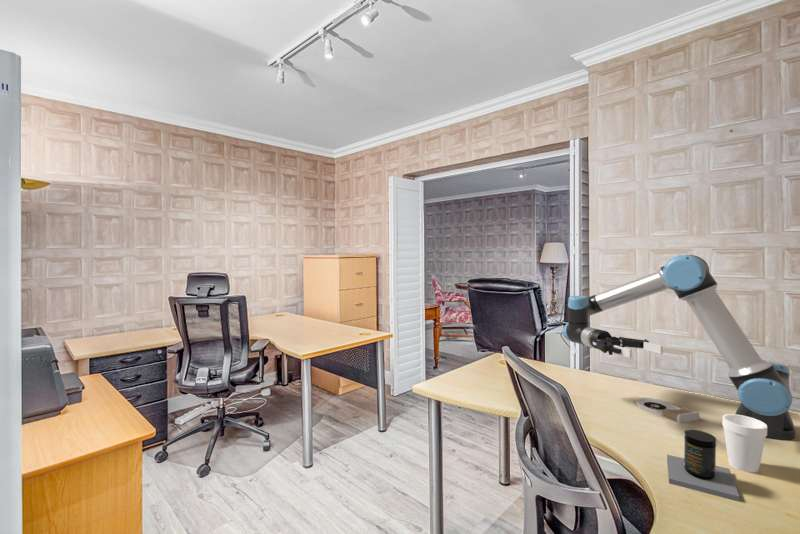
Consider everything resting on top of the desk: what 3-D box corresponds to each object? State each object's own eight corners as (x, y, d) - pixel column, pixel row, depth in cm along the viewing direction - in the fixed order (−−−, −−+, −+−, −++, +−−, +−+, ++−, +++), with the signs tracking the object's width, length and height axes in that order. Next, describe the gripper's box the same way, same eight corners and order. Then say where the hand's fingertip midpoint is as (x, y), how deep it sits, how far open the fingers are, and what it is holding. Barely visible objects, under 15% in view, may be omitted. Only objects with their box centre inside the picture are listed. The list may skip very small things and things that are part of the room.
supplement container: (716, 484, 97) (716, 444, 97) (683, 474, 101) (684, 436, 101) (715, 471, 103) (715, 434, 102) (684, 463, 107) (684, 427, 106)
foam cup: (754, 479, 101) (755, 431, 100) (714, 462, 109) (715, 417, 109) (773, 470, 105) (774, 424, 104) (733, 454, 113) (733, 411, 113)
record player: (676, 415, 134) (629, 396, 153) (676, 424, 134) (629, 403, 153) (701, 411, 137) (651, 393, 156) (701, 420, 137) (651, 400, 156)
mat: (729, 473, 104) (729, 468, 104) (739, 501, 92) (739, 496, 92) (667, 458, 112) (667, 454, 112) (668, 482, 100) (668, 478, 100)
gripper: (621, 345, 151) (674, 358, 131) (570, 351, 144) (617, 366, 124) (621, 326, 151) (674, 337, 131) (570, 331, 144) (617, 344, 123)
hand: (646, 351), depth 127 cm, fingers open, 13 cm apart
